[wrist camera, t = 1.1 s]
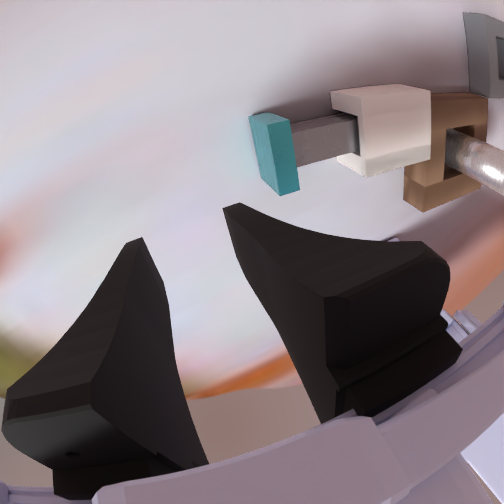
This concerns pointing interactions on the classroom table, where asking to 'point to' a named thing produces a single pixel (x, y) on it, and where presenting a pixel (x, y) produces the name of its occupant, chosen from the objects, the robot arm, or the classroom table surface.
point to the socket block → (434, 170)
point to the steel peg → (475, 159)
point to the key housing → (387, 126)
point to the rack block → (485, 54)
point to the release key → (299, 145)
